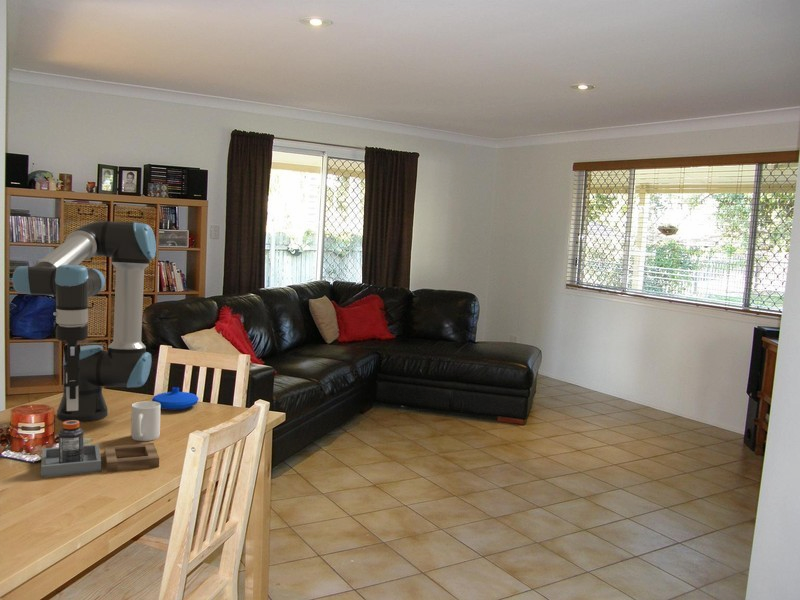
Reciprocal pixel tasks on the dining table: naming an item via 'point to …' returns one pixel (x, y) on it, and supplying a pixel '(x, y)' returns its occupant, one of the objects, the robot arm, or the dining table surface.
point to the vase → (176, 399)
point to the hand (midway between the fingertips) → (72, 403)
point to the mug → (145, 421)
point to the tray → (53, 468)
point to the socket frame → (134, 462)
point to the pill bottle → (71, 442)
